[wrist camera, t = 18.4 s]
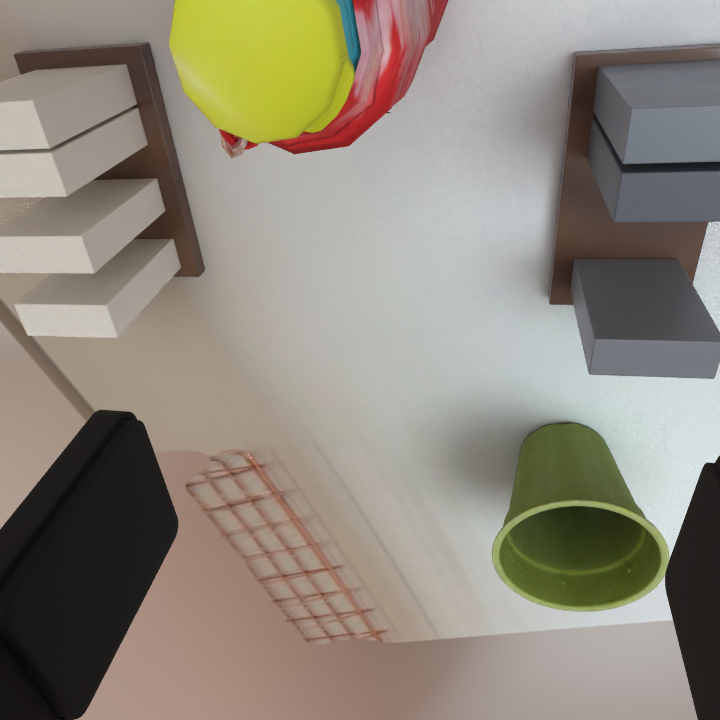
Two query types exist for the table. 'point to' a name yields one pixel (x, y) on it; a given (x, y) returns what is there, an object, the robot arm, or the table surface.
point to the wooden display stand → (95, 177)
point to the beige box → (79, 227)
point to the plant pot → (576, 527)
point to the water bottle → (298, 66)
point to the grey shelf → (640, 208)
